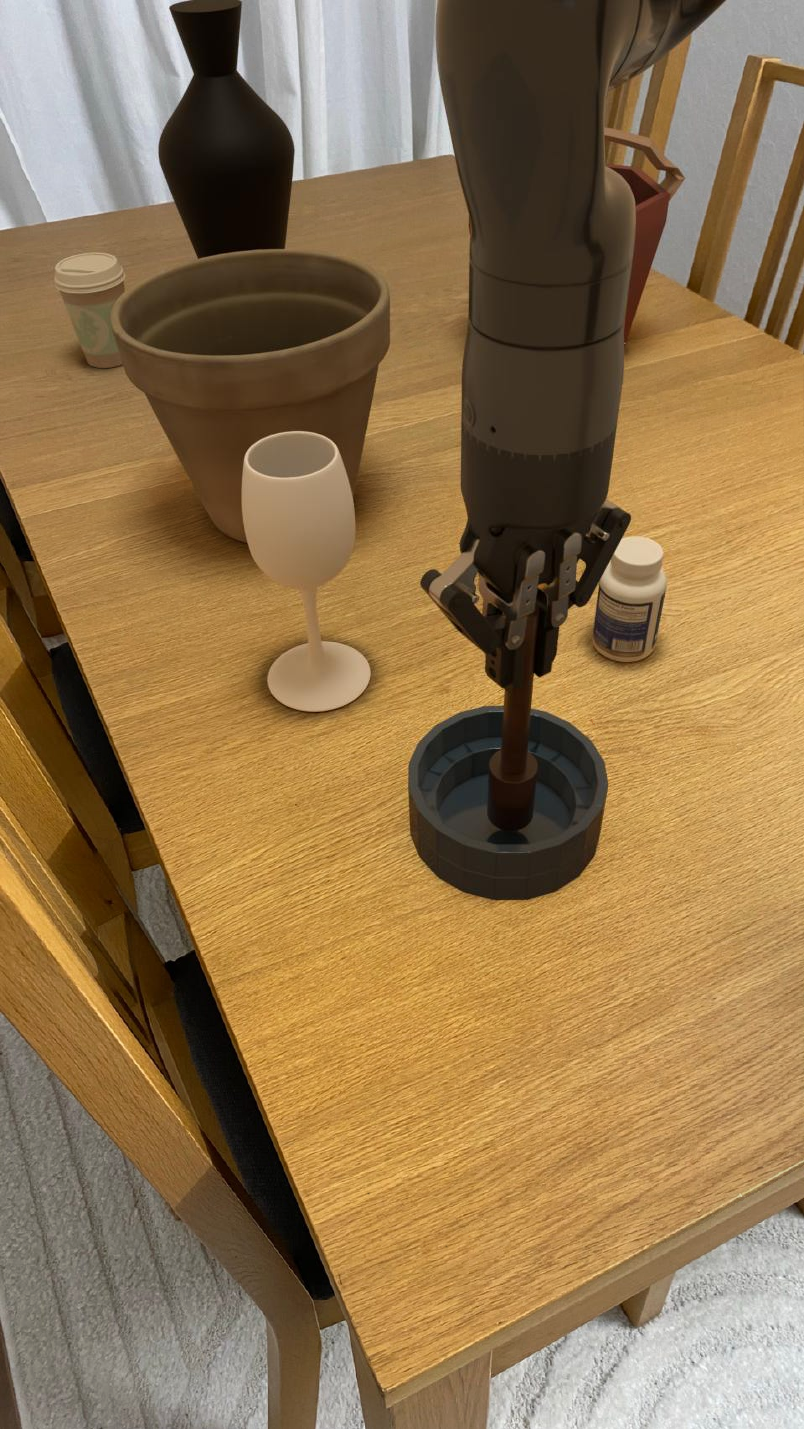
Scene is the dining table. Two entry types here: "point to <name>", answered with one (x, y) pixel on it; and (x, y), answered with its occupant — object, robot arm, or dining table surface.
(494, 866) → the bowl
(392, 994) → the dining table surface
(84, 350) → the coffee cup
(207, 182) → the vase
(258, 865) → the dining table surface
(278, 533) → the wineglass
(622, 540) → the pill bottle
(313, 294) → the flower pot
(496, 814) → the muddler
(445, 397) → the dining table surface
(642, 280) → the bucket
